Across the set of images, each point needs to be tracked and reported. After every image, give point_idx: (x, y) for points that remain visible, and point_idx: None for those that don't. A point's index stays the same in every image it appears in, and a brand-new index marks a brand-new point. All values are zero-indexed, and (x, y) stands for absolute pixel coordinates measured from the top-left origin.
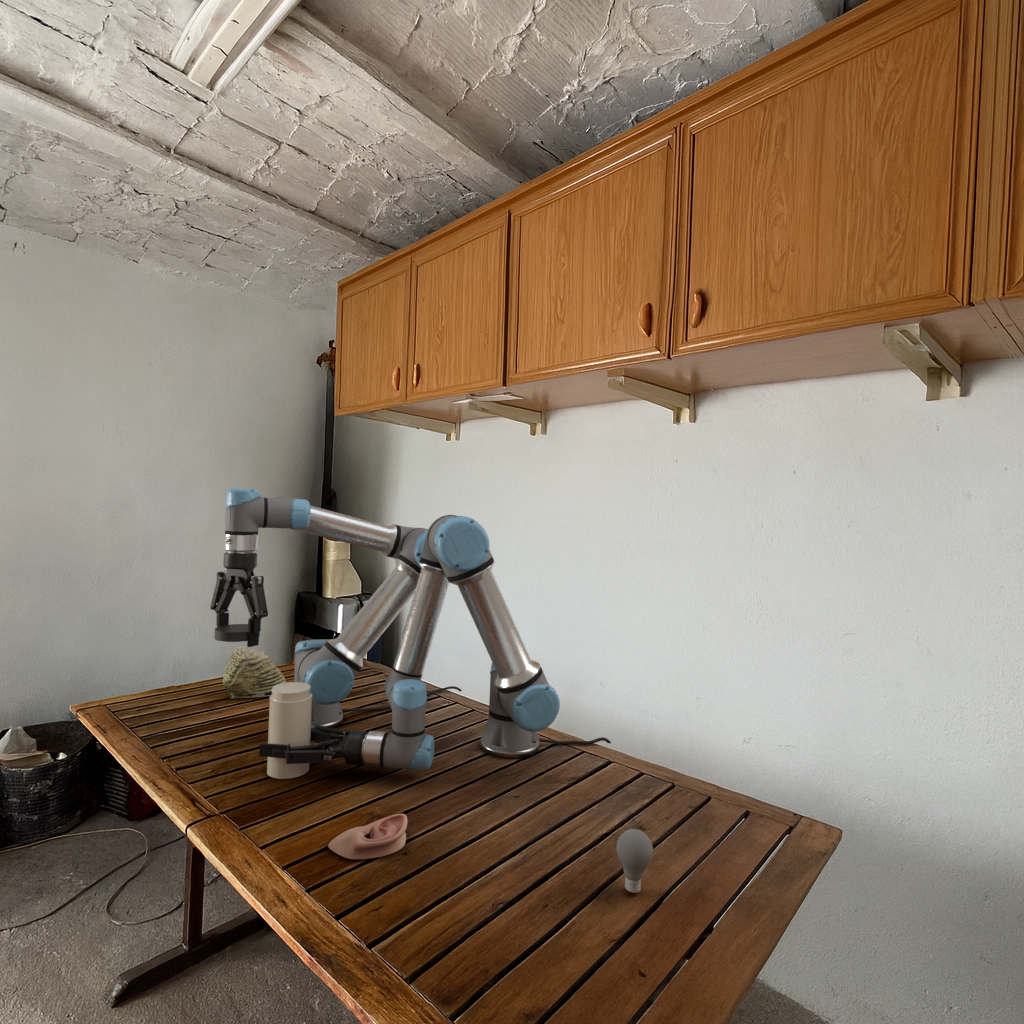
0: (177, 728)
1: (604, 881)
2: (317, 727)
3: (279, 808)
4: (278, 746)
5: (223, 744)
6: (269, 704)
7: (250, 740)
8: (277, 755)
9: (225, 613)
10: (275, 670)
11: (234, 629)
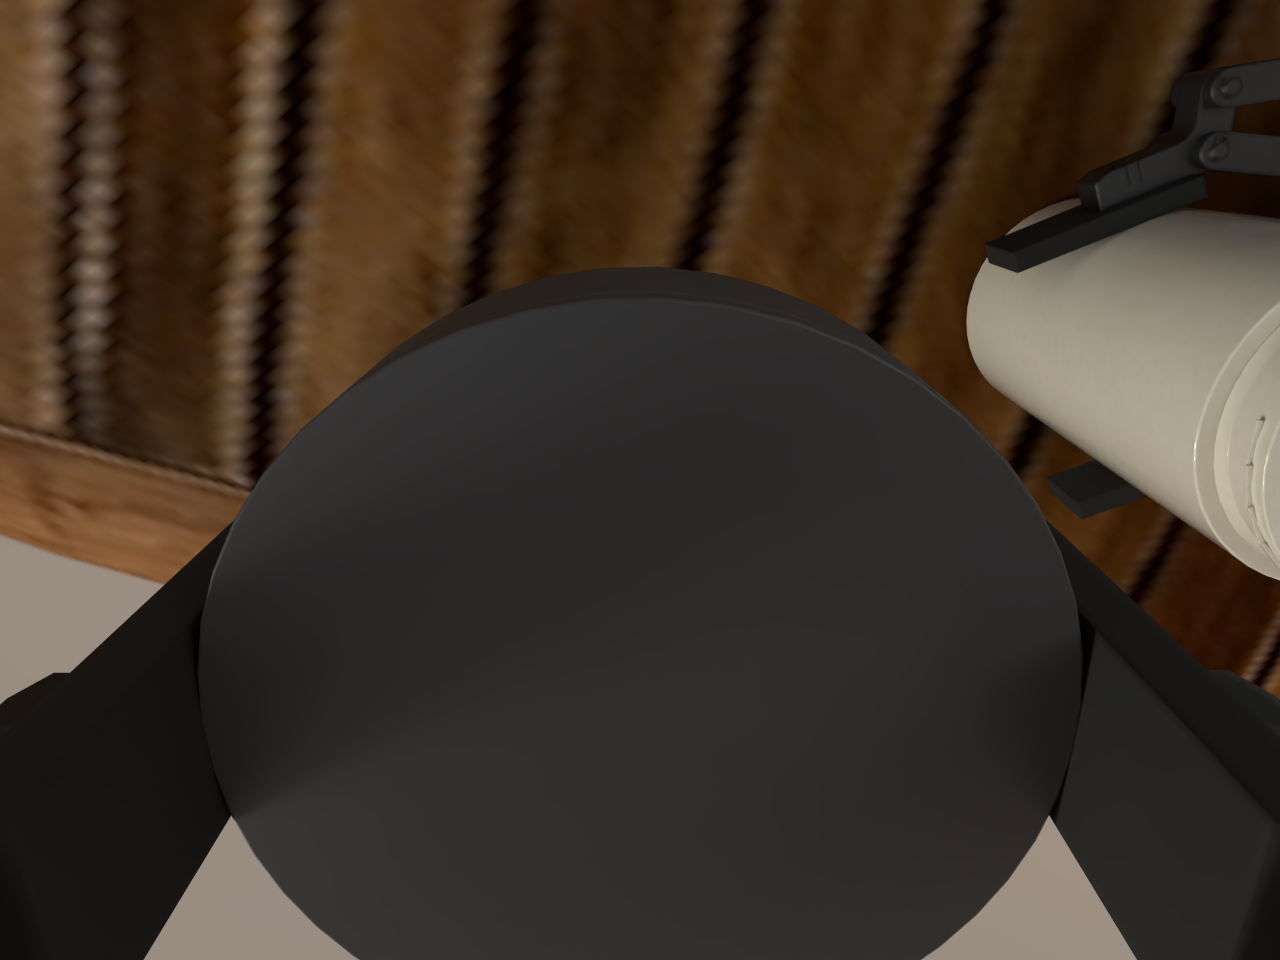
0: (71, 243)
1: None
2: (1246, 100)
3: (1267, 585)
4: None
5: (510, 259)
6: (1208, 538)
7: (585, 124)
8: None
9: (34, 920)
10: None
11: (701, 843)
